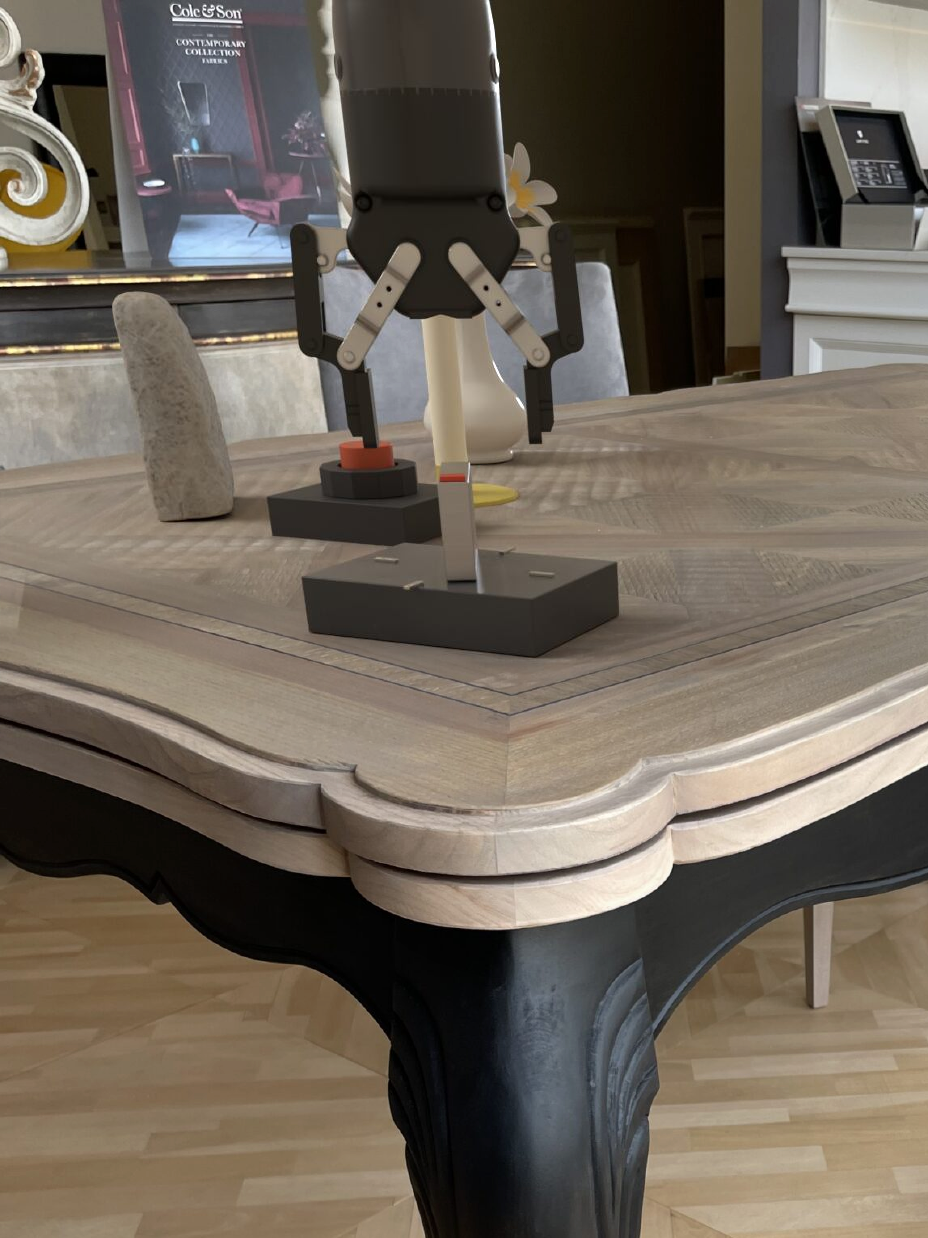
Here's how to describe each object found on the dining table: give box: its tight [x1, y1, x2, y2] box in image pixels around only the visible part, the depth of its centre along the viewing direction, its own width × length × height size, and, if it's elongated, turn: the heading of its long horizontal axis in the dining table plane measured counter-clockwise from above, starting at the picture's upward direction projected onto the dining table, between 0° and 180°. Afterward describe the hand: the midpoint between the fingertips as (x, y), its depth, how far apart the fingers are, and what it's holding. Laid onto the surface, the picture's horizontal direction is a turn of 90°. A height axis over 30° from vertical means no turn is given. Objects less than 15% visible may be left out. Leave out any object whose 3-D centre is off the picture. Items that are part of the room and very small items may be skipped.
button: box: [338, 440, 395, 469], centre depth 106 cm, size 4×4×2 cm
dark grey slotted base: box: [300, 543, 620, 658], centre depth 84 cm, size 14×11×3 cm
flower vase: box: [332, 141, 558, 465], centre depth 132 cm, size 13×18×25 cm
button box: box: [266, 457, 442, 547], centre depth 107 cm, size 11×9×4 cm
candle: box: [420, 315, 519, 509], centre depth 111 cm, size 10×10×38 cm
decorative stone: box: [111, 291, 235, 523], centre depth 111 cm, size 11×6×15 cm, turn 9°
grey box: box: [436, 462, 479, 581], centre depth 82 cm, size 7×2×5 cm, turn 9°
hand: (453, 444), depth 80 cm, fingers open, 8 cm apart
